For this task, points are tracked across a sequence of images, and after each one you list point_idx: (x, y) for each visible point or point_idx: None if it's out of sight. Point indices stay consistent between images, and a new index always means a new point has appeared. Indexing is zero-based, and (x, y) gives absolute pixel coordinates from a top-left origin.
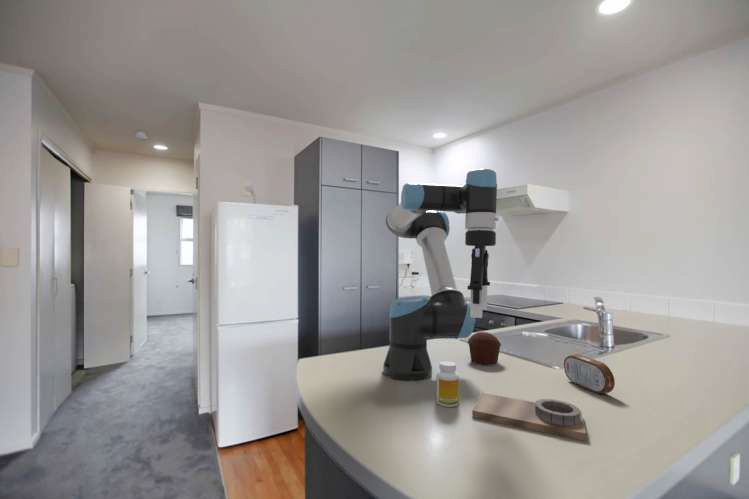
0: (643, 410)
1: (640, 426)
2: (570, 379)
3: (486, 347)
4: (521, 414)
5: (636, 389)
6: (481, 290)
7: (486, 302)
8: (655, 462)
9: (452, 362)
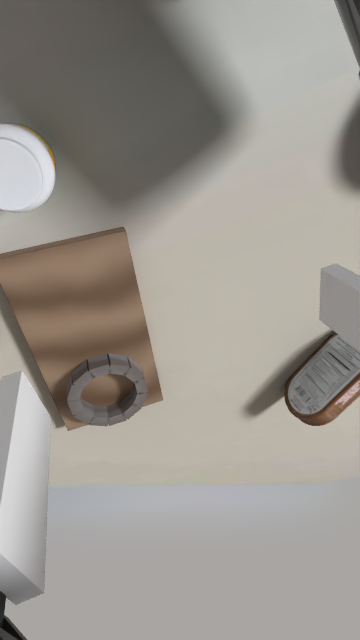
0: (246, 432)
1: (180, 444)
2: (336, 335)
3: None
4: (63, 343)
5: None
6: (11, 601)
7: (349, 341)
8: (71, 478)
9: (36, 186)
